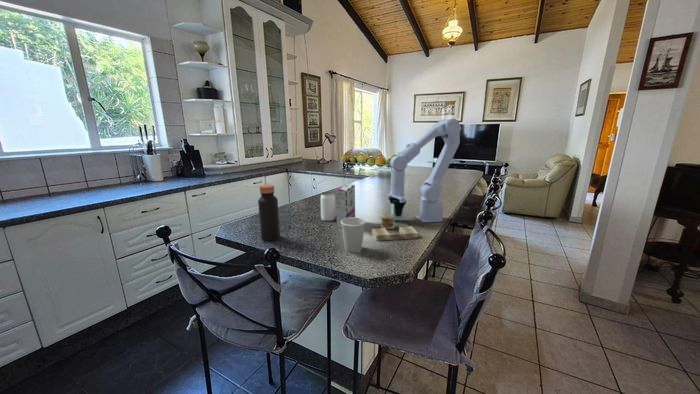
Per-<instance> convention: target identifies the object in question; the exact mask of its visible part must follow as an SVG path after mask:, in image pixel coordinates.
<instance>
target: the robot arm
mask: <svg viewBox="0 0 700 394" xmlns="http://www.w3.org/2000/svg"><path fill="white" fill-rule="evenodd" d="M461 130H462V126H461V124H460V122H459V120H458V119H456V118H450V119H446V118H445V119H440V120H438V121H437V122H436V123H434V124H433V125H432V126H431V128H430V129H428V130H427V131H426V132H424V133H423V135H422V136H421V137H419V139H418V140H416V142H410V143H407V144H405V147H404V148H403V149H402V150H401V151H399V152H397V153H396V154H397V155H393V156H392V157H391V158H390V161H389V166H390V167H391V169H390V170H391V172H390V192H389V193H388V194H387V196H388V200H389V202H390V205H391V204H394V207H395V214H396V216H401V214H402V210H404V208H405V205H406V203H407V200H406V197H405V177H406V175H405V174H406V172H405V169H407V167H408V164H409V163H411V162H412V161H413V160H414V159H415V158H416V157H417V156H419V154H420V153H421V149H422V148H423V147H424V146H426V145H427V144H428V143H430V142H431V141H433V140H434V139H435V138H437V137H440V138H442V139H443V142H444V145H443V147H442V149H441V152H440V153H439V156H438V158H437V160H436V162H435V164H434V166H433V168H432V171H431V173H430V175H429V177H428V178H427V179H425V180H424V182H423V184H421V185H420V187H419V189H418V194H419V195H420V196H421V197H420V203H419V215H416V216H415V217H416V218H417V219H418V220H419V221H420V222H421V223H437V222H438V223H439V222H441V223H442V222H444V220H443V215H444V214H443V213H444V204H443V201H442V200H440V199H441V198H440V197H441V191H442V189H443V185H442V182H443V180H444V177H445V175H446V173H447V170H448V168H449V166H450V164H451V163H452V161H453V158H454V157H455V153H456V152H457V150H458V148H459V145H460V144H461V143H460V140H461V139H460V137H461ZM402 215H403V214H402Z"/></svg>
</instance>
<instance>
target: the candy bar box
mask: <svg viewBox="0 0 700 394" xmlns="http://www.w3.org/2000/svg"><path fill="white" fill-rule="evenodd" d="M355 187H356V185H355V184H351V183H350V184H348V183H347V184H346V183H345V184H343V185H342V186H339V187H338V188H337V189H335V215H336V228H338V229H342V224H341V220H343V219H345V218H350V217H356V188H355Z"/></svg>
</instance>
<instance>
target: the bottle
mask: <svg viewBox="0 0 700 394" xmlns="http://www.w3.org/2000/svg"><path fill="white" fill-rule="evenodd" d="M259 193H260V195H261V196H260V197H259V198H258V200H257V204H258V205H257V206H258V213H259V214H258V215H259V226H260V237H261V240H262V241H263V242H275V241H277V240H279V239H280V238H281V228H280V214H279V201H278V200H279V199H278V198H277V197H276V196H275V186H274V185H273V184H263V185H260V186H259Z"/></svg>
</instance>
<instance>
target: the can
mask: <svg viewBox="0 0 700 394" xmlns="http://www.w3.org/2000/svg"><path fill="white" fill-rule="evenodd" d="M320 194H321V195H320V220H321V221H324V222H331V221H335V220H336V194H335V193H334V192H333V191H325V192H321V193H320Z"/></svg>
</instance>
